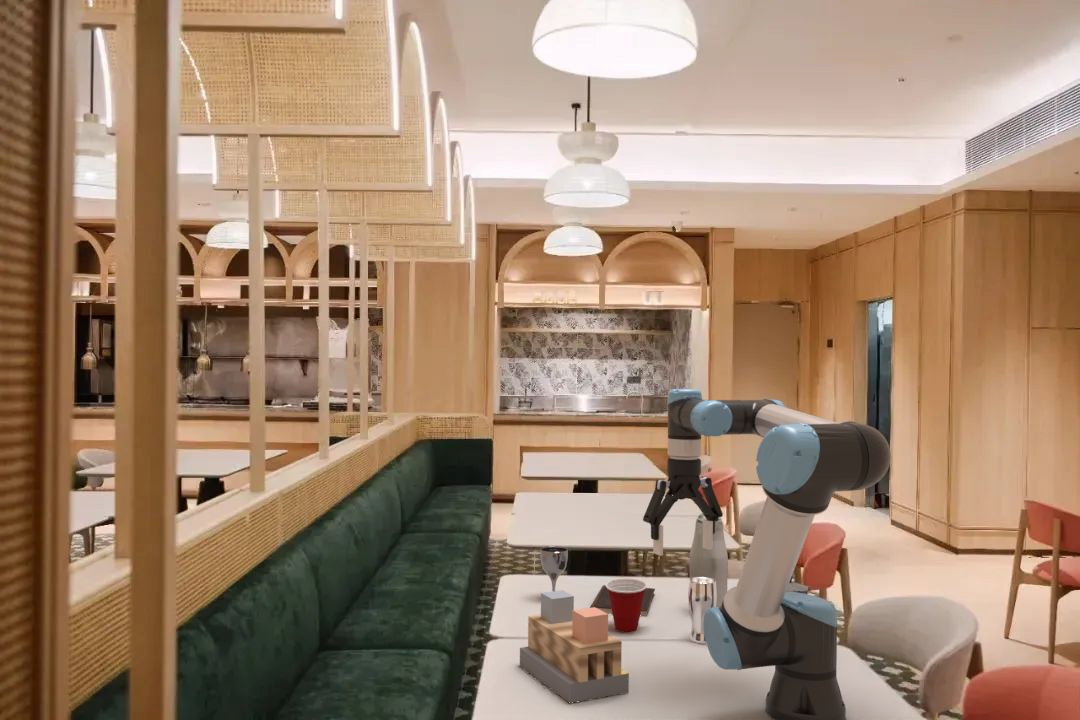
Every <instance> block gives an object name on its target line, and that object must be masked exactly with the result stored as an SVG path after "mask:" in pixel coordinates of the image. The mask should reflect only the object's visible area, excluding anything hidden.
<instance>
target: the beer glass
mask: <svg viewBox="0 0 1080 720" xmlns="http://www.w3.org/2000/svg"><path fill="white" fill-rule="evenodd" d="M687 597H688V606H689V607H688V608H689V613H690V620H691V626H690V627H691V629H690V633H689V634H690V635H689V640H690V641H691V642H693V643H695V644H702V645H703V644H704V645H705V644H706V640H705V635H704V627H703V621H704V615H705V612H706V610H707V609H709V608H712V607H714V606H716V603H717V589H716V580H715V579H713V578H709V577H692V578H690V577H689V582H688V596H687ZM706 645H707V644H706Z"/></svg>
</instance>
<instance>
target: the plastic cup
mask: <svg viewBox="0 0 1080 720" xmlns="http://www.w3.org/2000/svg"><path fill="white" fill-rule="evenodd" d="M604 585H606V588H607V589H608V592H609V596H610V602H611V609H612V614H611V615H612V619H613V625H614V626H613V627H614V628H615V630H616V631H617V630H618V631H617V632H621V633H634V631H635V632H636V630H638V628H639V622H640V618H641V616H640V614H641V608H642V602H643V597H644V593H645V589H646V588H648V584H647V582H646V581H644V580H642V579H638V578H631V577H629V578H628V577H621V578H620V577H619V578H614V579H611V580H609V581H606V583H605V584H604Z"/></svg>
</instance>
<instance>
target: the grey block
mask: <svg viewBox="0 0 1080 720" xmlns="http://www.w3.org/2000/svg"><path fill="white" fill-rule="evenodd" d="M574 598H575V596H574V595H572V594H570V593H568V592H566V591H565V590H561V589H560V590H555V591H553V592H552V591H548V592H541V593H540V614H541V618H543V619H545V620H546V621H548V622H550V623H551V624H554V623H561V622H568V621H572V614H573V610H575V609H574V608H575V604H574V603H575V599H574Z"/></svg>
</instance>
